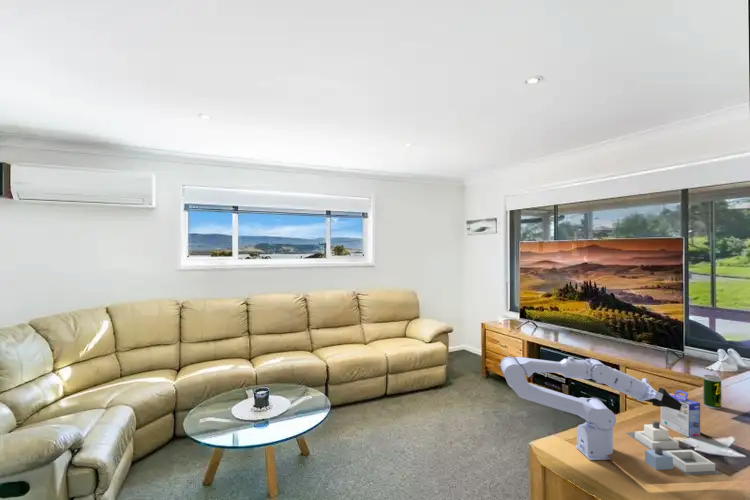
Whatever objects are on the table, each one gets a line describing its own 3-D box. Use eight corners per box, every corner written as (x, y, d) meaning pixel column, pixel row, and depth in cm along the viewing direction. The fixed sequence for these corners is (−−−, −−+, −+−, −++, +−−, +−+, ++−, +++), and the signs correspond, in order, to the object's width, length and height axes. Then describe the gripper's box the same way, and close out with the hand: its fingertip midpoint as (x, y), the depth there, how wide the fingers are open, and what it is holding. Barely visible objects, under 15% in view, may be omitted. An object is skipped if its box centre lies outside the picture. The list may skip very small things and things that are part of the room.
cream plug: (653, 446, 119) (653, 425, 119) (643, 439, 123) (643, 419, 123) (668, 445, 120) (668, 424, 120) (658, 439, 124) (658, 419, 124)
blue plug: (655, 475, 107) (655, 451, 107) (645, 467, 111) (644, 444, 111) (673, 474, 107) (672, 451, 107) (661, 466, 111) (661, 443, 111)
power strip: (687, 480, 104) (687, 467, 104) (625, 437, 128) (625, 426, 128) (722, 479, 105) (722, 466, 105) (654, 436, 129) (654, 425, 129)
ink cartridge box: (701, 439, 126) (701, 396, 126) (689, 442, 125) (689, 398, 125) (671, 426, 136) (671, 385, 136) (659, 428, 134) (659, 387, 134)
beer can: (700, 405, 153) (700, 375, 153) (707, 403, 155) (706, 373, 155) (717, 410, 148) (717, 379, 148) (724, 407, 150) (723, 377, 150)
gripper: (644, 374, 111) (692, 396, 108) (617, 369, 125) (659, 388, 123) (636, 397, 110) (685, 419, 107) (610, 389, 124) (653, 409, 122)
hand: (671, 404), depth 115 cm, fingers open, 7 cm apart
